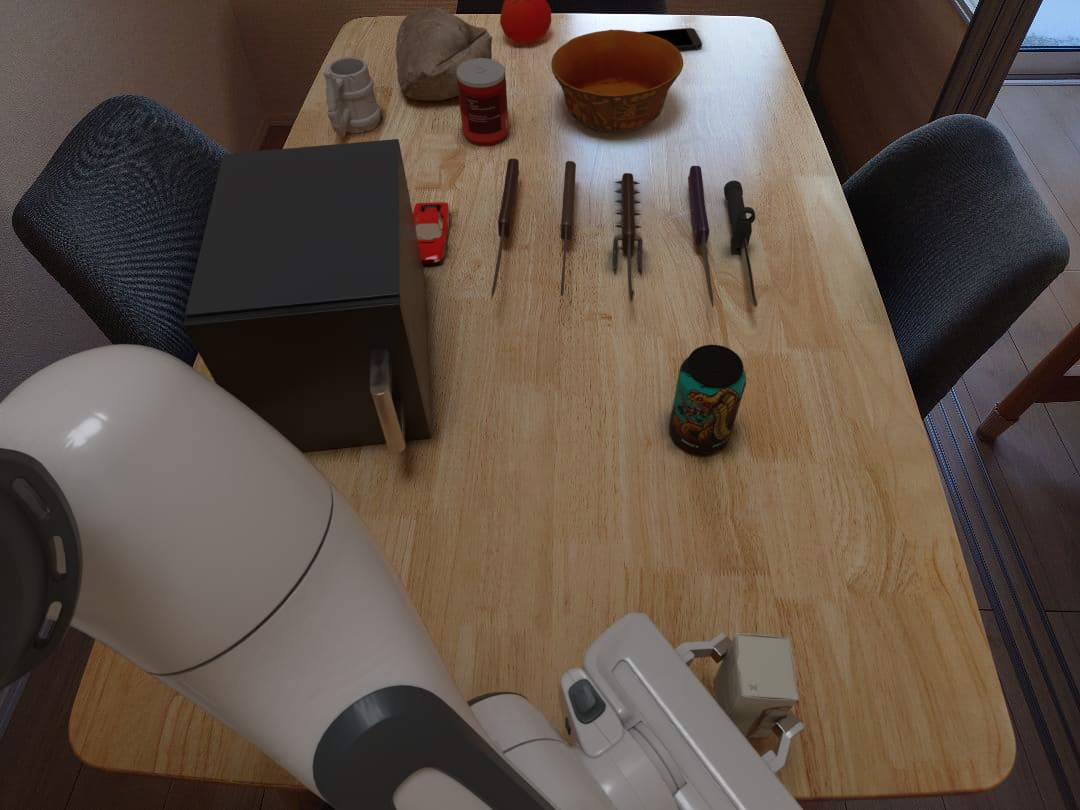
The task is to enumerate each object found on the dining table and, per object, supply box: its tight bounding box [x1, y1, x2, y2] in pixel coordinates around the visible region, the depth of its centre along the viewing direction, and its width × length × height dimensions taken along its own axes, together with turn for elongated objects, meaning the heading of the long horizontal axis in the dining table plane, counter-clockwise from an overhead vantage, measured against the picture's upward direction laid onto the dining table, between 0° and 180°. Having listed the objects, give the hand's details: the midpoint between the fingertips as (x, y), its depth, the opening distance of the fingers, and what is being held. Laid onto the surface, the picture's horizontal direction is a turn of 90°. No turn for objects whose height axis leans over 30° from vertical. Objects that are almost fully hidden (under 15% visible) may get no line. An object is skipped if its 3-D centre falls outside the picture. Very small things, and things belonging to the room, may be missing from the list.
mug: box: [323, 56, 382, 138], centre depth 124 cm, size 8×12×12 cm, turn 163°
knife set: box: [490, 158, 758, 308], centre depth 104 cm, size 35×33×8 cm
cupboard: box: [184, 138, 432, 431], centre depth 88 cm, size 26×20×22 cm
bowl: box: [550, 29, 684, 132], centre depth 125 cm, size 21×21×10 cm
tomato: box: [499, 0, 552, 44], centre depth 143 cm, size 9×10×8 cm
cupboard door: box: [183, 297, 432, 455], centre depth 78 cm, size 7×20×22 cm, turn 97°
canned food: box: [457, 58, 509, 147], centre depth 122 cm, size 8×8×11 cm
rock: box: [395, 6, 493, 102], centre depth 132 cm, size 16×17×15 cm
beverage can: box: [668, 344, 747, 455], centre depth 83 cm, size 7×7×12 cm
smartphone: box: [641, 27, 703, 51], centre depth 143 cm, size 7×15×1 cm, turn 97°
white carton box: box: [712, 632, 799, 741], centre depth 61 cm, size 5×4×10 cm
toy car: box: [412, 201, 451, 266], centre depth 109 cm, size 12×5×3 cm, turn 1°
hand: (761, 679), depth 61 cm, fingers closed on white carton box, 6 cm apart
